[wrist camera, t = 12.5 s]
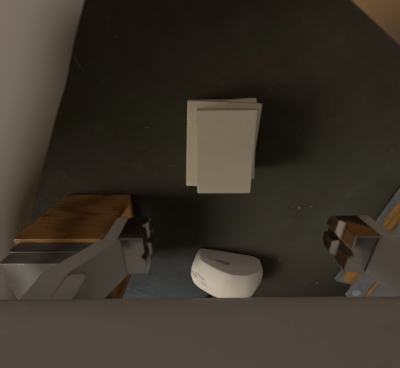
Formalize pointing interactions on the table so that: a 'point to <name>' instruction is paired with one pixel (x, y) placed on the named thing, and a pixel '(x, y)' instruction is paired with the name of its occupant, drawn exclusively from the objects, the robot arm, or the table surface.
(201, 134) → the beige flat block
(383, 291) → the book
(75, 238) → the oak stand
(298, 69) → the table surface
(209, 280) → the computer mouse
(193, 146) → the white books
